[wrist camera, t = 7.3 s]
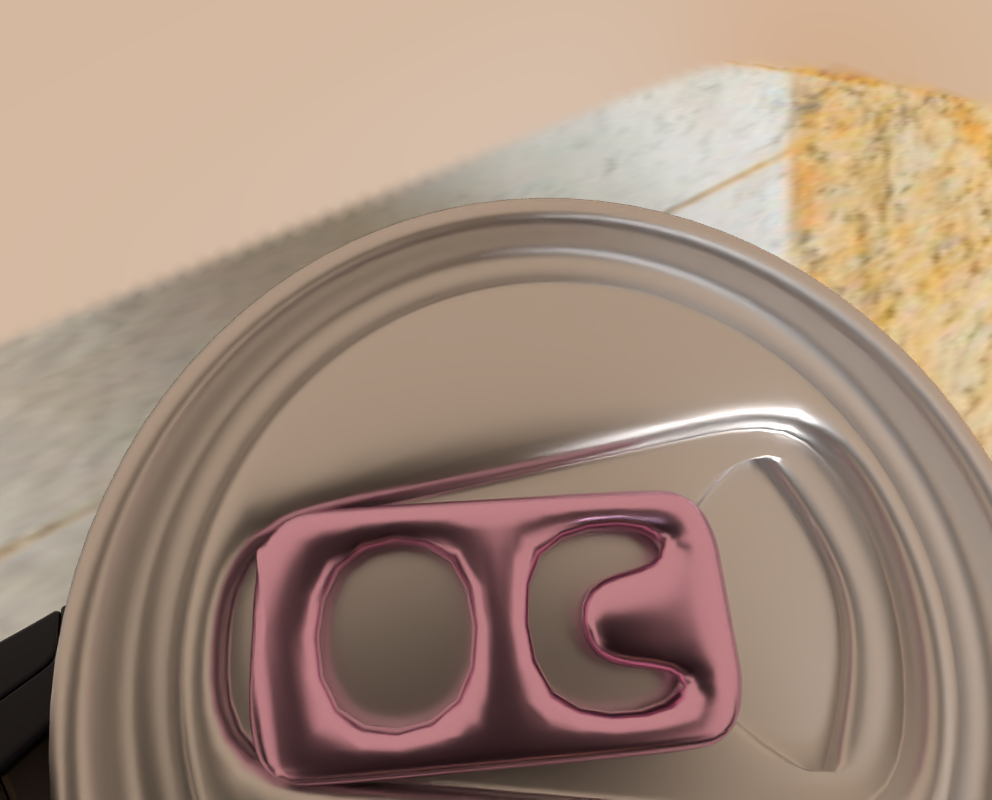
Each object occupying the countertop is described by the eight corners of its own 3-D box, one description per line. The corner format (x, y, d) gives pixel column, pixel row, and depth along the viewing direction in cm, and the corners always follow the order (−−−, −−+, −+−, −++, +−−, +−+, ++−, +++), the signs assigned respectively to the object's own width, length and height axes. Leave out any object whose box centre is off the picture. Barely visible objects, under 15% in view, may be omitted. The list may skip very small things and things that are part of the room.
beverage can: (370, 522, 18) (88, 175, 4) (573, 509, 19) (936, 161, 5) (372, 753, 16) (-153, 1583, 2) (598, 733, 17) (1357, 1300, 3)
